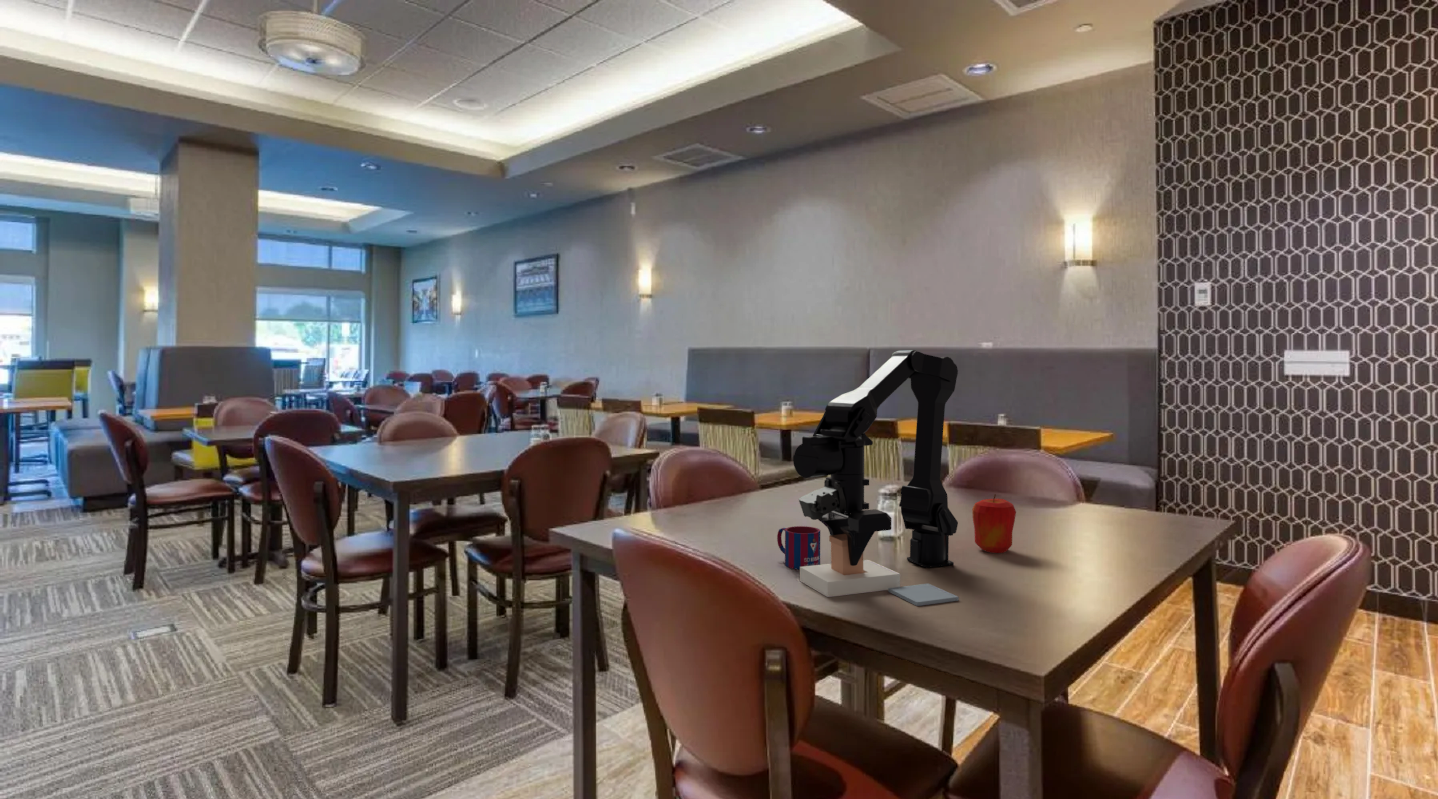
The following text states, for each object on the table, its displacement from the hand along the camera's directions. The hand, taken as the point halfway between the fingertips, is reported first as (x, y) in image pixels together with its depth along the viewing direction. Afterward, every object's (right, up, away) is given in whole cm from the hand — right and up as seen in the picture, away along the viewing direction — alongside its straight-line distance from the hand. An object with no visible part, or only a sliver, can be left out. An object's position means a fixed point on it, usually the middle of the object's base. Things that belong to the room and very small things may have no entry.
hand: (846, 562), depth 128 cm
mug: (-7, -4, +15) cm, 17 cm away
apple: (+34, -3, +24) cm, 42 cm away
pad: (+11, -4, -6) cm, 14 cm away
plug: (0, -4, 0) cm, 4 cm away
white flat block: (0, -4, 0) cm, 4 cm away
